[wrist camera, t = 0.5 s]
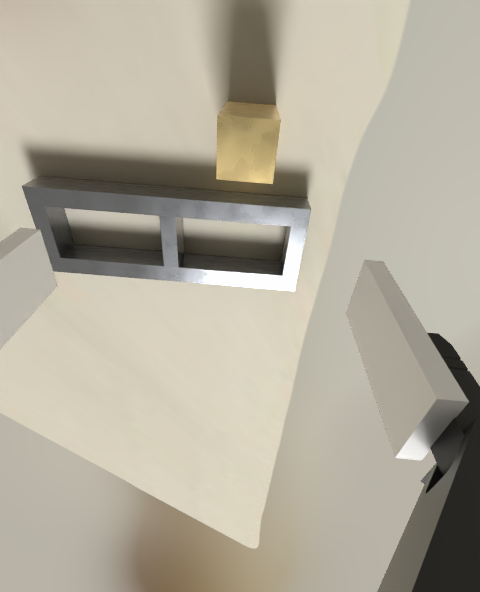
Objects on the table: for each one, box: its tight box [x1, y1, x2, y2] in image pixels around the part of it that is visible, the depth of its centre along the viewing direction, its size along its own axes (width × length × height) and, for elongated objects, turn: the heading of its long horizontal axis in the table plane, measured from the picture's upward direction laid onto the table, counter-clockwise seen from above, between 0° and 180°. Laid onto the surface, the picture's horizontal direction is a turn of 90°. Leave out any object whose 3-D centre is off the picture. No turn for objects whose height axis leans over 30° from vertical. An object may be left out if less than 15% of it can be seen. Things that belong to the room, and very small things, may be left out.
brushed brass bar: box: [216, 101, 281, 184], centre depth 25 cm, size 4×4×8 cm
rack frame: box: [22, 176, 311, 291], centre depth 33 cm, size 9×26×3 cm, turn 86°
